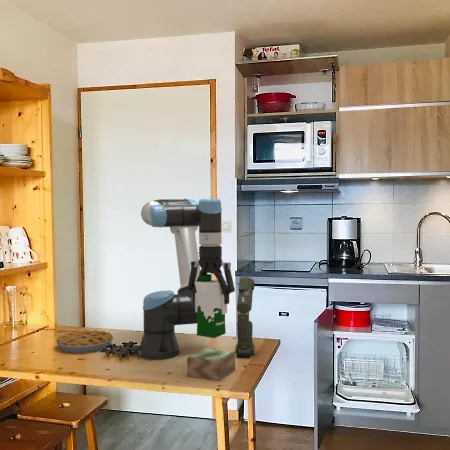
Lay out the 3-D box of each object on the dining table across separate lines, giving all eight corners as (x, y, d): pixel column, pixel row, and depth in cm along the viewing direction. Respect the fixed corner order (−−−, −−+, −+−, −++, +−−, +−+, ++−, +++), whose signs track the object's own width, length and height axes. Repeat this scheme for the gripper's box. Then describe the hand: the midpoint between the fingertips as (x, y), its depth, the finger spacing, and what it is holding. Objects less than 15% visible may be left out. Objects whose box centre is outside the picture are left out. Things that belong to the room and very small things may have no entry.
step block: (187, 376, 169) (187, 356, 168) (203, 365, 180) (203, 347, 179) (220, 381, 164) (220, 361, 163) (235, 369, 175) (235, 351, 174)
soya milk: (207, 330, 177) (206, 272, 176) (229, 333, 172) (229, 274, 172) (192, 335, 170) (192, 275, 169) (215, 339, 165) (215, 277, 164)
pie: (79, 358, 190) (79, 345, 190) (45, 348, 203) (44, 336, 203) (124, 345, 207) (124, 332, 207) (90, 337, 221) (89, 325, 220)
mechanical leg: (250, 359, 183) (253, 275, 189) (231, 358, 185) (234, 275, 191) (256, 357, 197) (258, 279, 202) (237, 356, 198) (240, 278, 204)
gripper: (176, 245, 171) (177, 312, 172) (235, 246, 162) (236, 317, 163) (187, 243, 178) (187, 307, 179) (245, 245, 169) (245, 312, 170)
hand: (211, 312), depth 171 cm, fingers closed on soya milk, 9 cm apart
